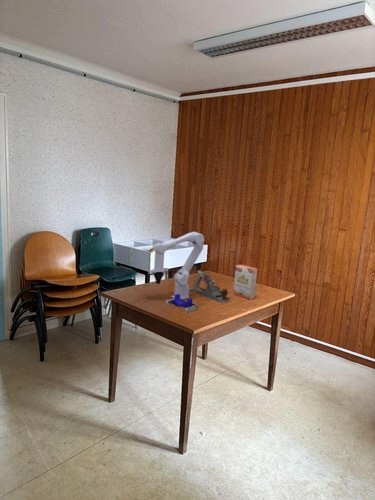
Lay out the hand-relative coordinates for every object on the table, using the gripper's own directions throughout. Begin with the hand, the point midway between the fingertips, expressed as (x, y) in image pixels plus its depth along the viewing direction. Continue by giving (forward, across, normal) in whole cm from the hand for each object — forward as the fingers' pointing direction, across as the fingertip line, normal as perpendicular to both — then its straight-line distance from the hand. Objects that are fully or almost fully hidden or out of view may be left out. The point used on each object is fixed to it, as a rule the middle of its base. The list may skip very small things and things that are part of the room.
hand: (157, 283), depth 231 cm
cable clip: (+10, +3, -19) cm, 22 cm away
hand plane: (+10, +35, -13) cm, 39 cm away
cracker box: (+10, +53, -29) cm, 61 cm away
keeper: (+10, +2, -20) cm, 22 cm away
